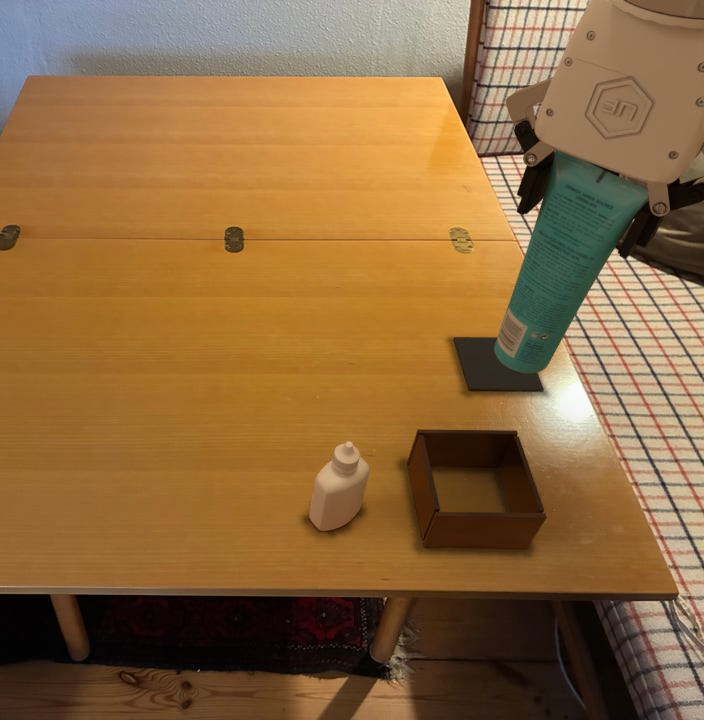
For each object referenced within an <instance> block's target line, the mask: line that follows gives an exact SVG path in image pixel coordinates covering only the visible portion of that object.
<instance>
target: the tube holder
mask: <svg viewBox="0 0 704 720" xmlns="http://www.w3.org/2000/svg"><path fill="white" fill-rule="evenodd" d="M518 434H519V433H518V430H516V429H515V430H512V429H511V430H506V429H505V430H503V429H501V430H500V429H495V430H494V429H421V428H420V429H416V433H415V436H414V439H413V441H412V445H411V449H410V452H409V455H408V457H407V460H406V465H407V467H408V468H407V469H408V474H409V480H410V485H411V490H412V496H413V500H414V505H415V510H416V515H417V519H418V525H419V531H420V534H421V539H422V544H423V548H447V549H448V548H449V549H451V548H452V549H517V550H518V549H520V550H521V549H523V550H525V549H526V550H527V549H528V548H529V547H530V545H531V544H532V542H533V540H534V539H535V537H536V535H537V534H538V532H539V531H540V529H541V528H542V526H543V524H544V523H545V521H546V519H547V518H548V517H547V513H546V512H545V507H544V505H543V502H542V499H541V496H540V493H539V491H538V487H537V485H536V482H535V479H534V476H533V473H532V471H531V468H530V465H529V462H528V459H527V456H526V453H525V450H524V447H523V445H522V441H521V438H520V436H519V435H518ZM431 467H444V468H445V467H449V468H450V467H455V468H457V467H459V468H465V467H466V468H498V473H499V476H500V479H501V483H502V486H503V489H504V493H505V496H506V499H507V502H508V506H509V509H510V512H502V511H501V512H496V511H495V512H494V511H493V512H491V511H489V512H488V511H441V507H440V503H439V497H438V494H437V489H436V484H435V481H434V476H433V472H432V468H431Z"/></svg>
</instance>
